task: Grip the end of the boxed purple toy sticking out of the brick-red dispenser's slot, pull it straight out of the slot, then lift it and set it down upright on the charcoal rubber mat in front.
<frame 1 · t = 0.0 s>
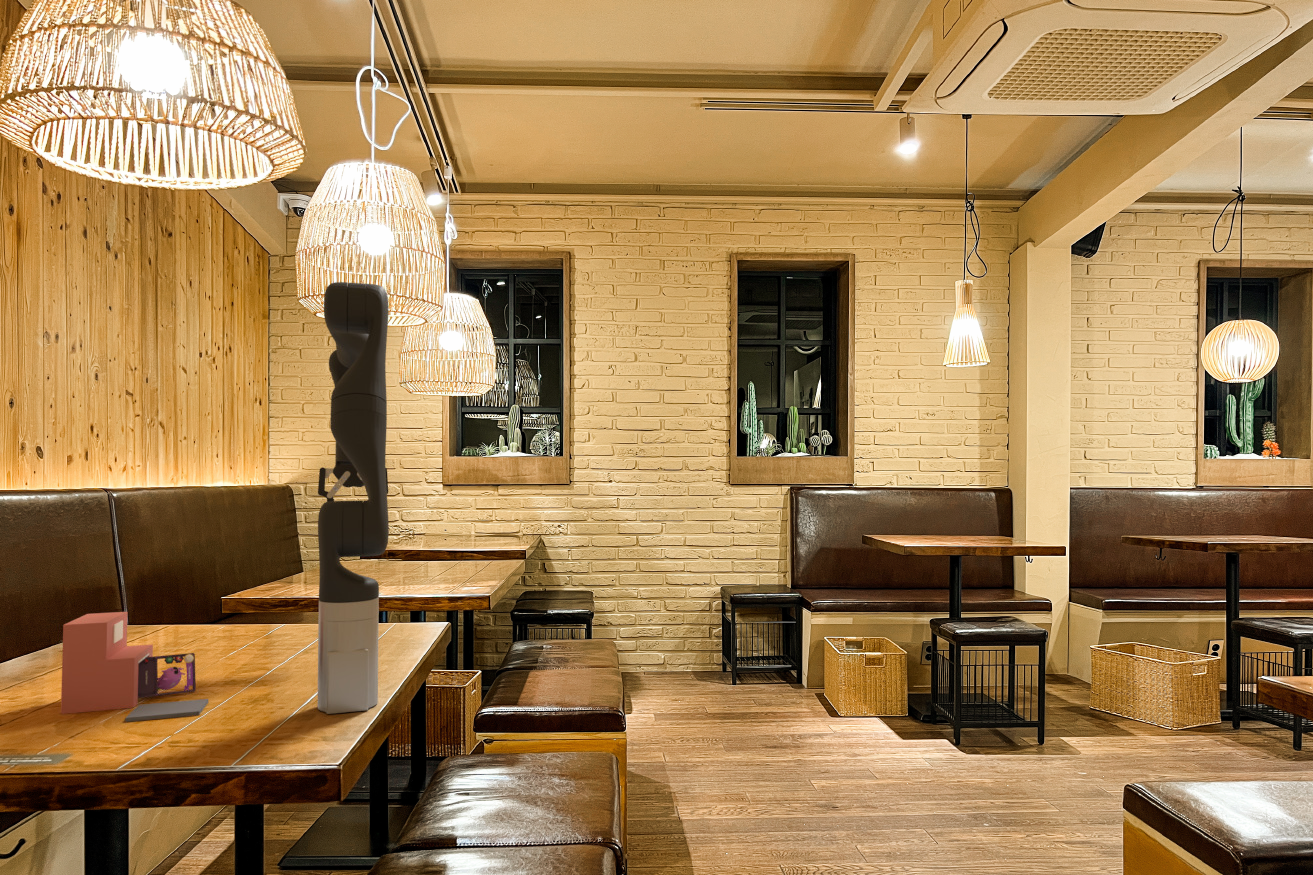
hand: (353, 515, 177), 29 cm above the table, tool pointing down, fingers open, 8 cm apart
dispenser: (108, 701, 137), on the table
mat: (168, 711, 131), on the table
boxed purple toy: (163, 694, 142), on the table, touching dispenser
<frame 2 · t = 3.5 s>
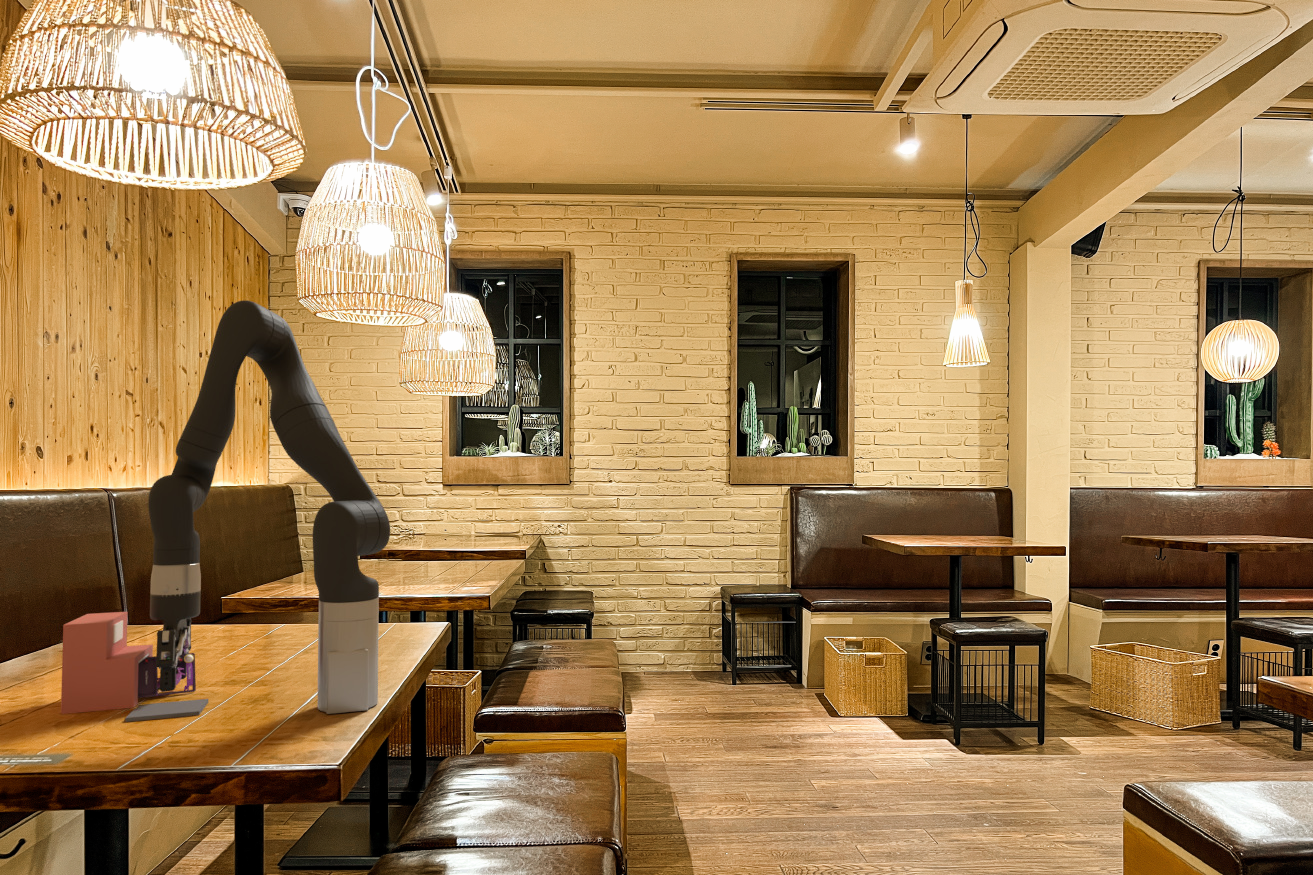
hand: (173, 684, 141), 2 cm above the table, tool pointing down, fingers open, 8 cm apart
boxed purple toy: (163, 694, 142), on the table, touching dispenser, gripper
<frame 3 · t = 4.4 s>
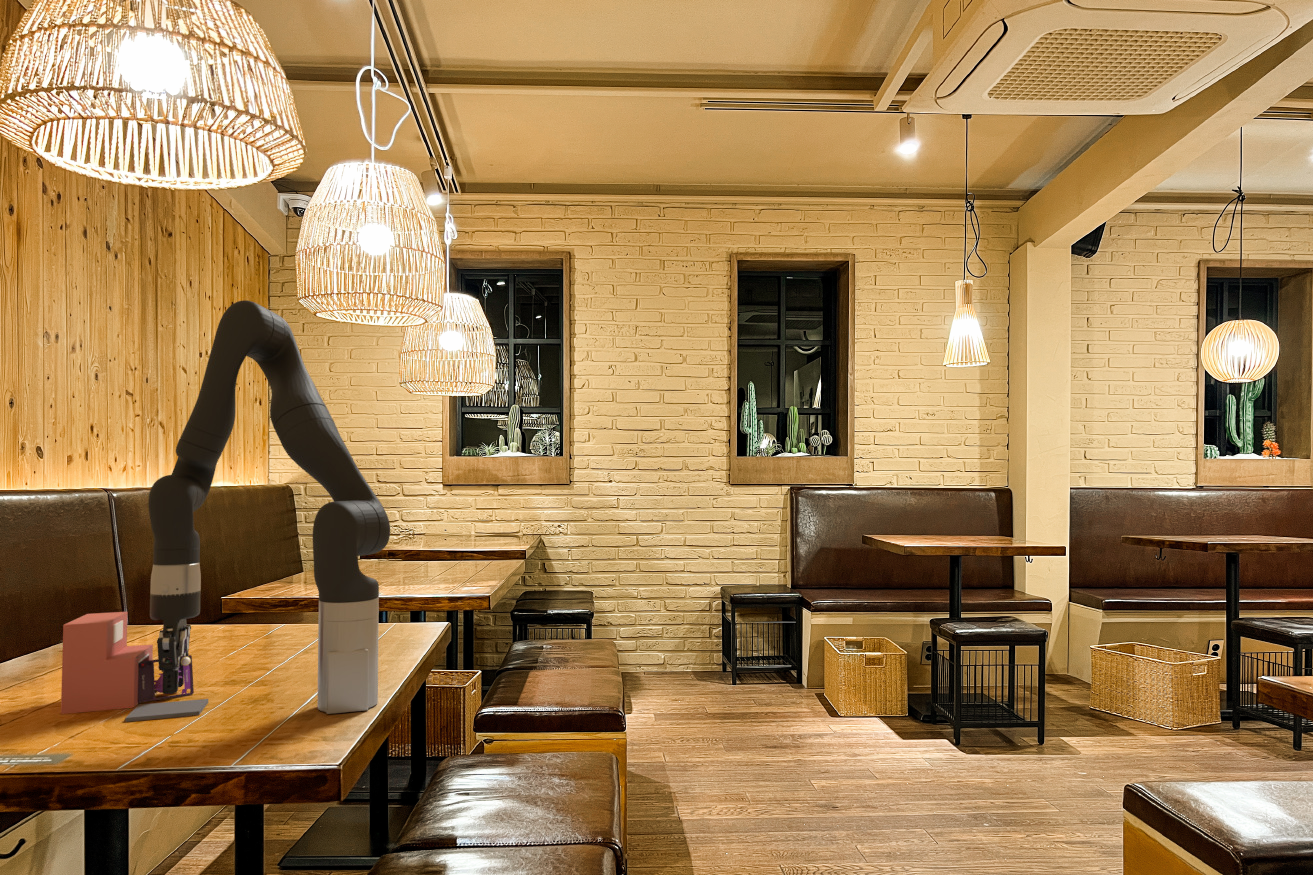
hand: (173, 689, 141), 1 cm above the table, tool pointing down, fingers closed on boxed purple toy, 3 cm apart
boxed purple toy: (161, 697, 140), on the table, touching dispenser, gripper
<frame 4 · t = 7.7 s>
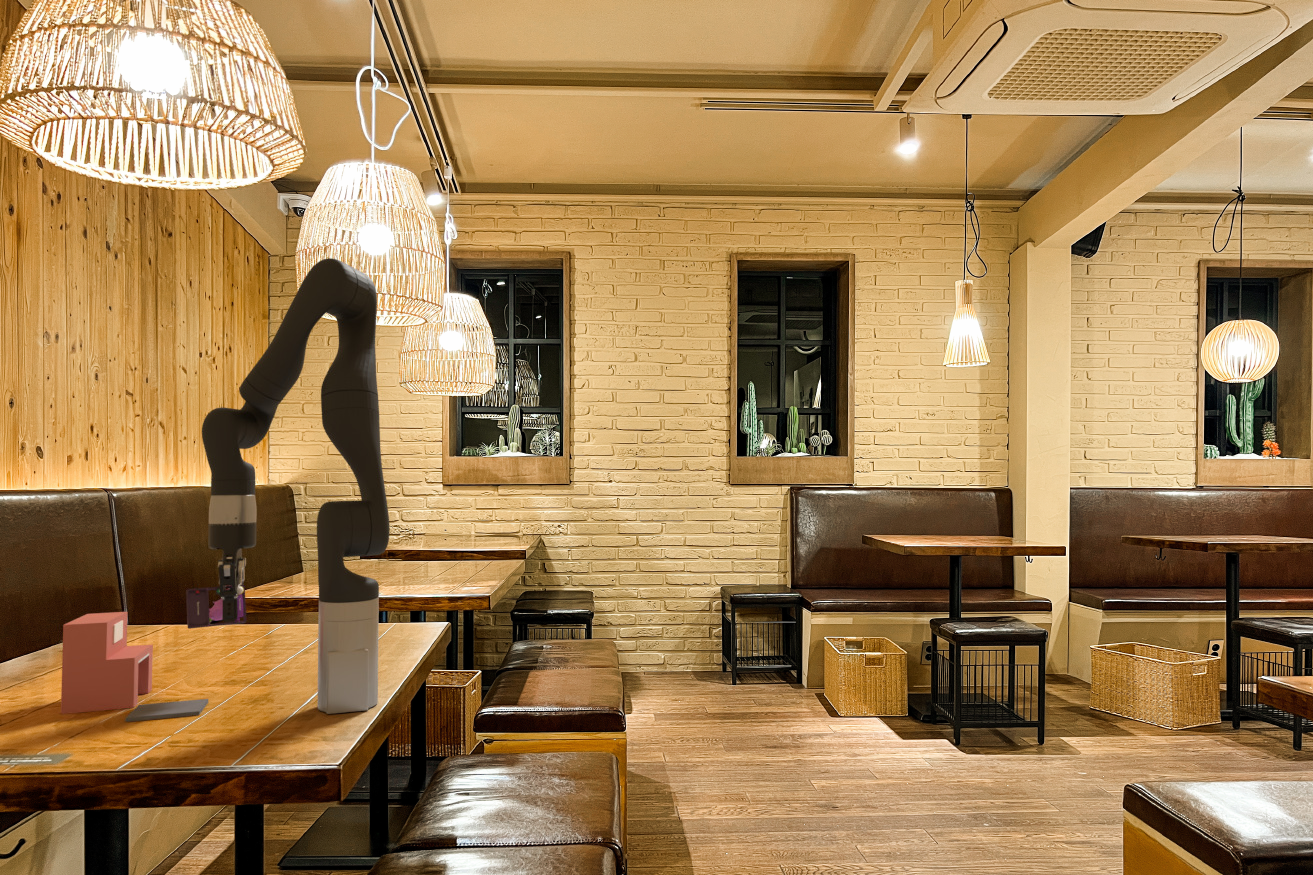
hand: (231, 618, 144), 13 cm above the table, tool pointing down, fingers closed on boxed purple toy, 3 cm apart
boxed purple toy: (215, 625, 142), point 12 cm above the table, touching gripper
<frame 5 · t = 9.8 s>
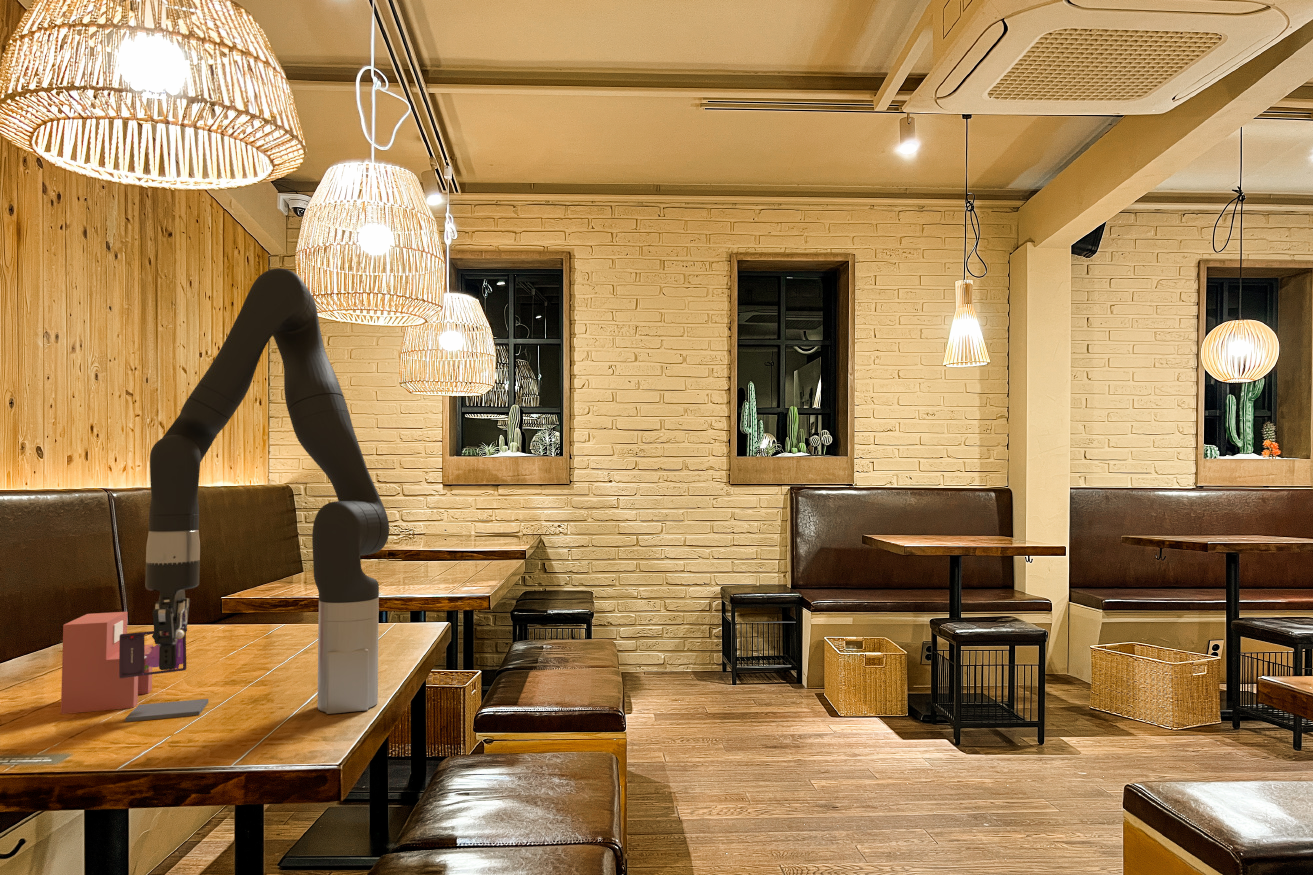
hand: (170, 665, 132), 7 cm above the table, tool pointing down, fingers closed on boxed purple toy, 3 cm apart
boxed purple toy: (152, 673, 130), point 6 cm above the table, touching gripper
when the fingers open (3 cm above the table, at t = 11.3 s): boxed purple toy drops 1 cm, resting on mat.
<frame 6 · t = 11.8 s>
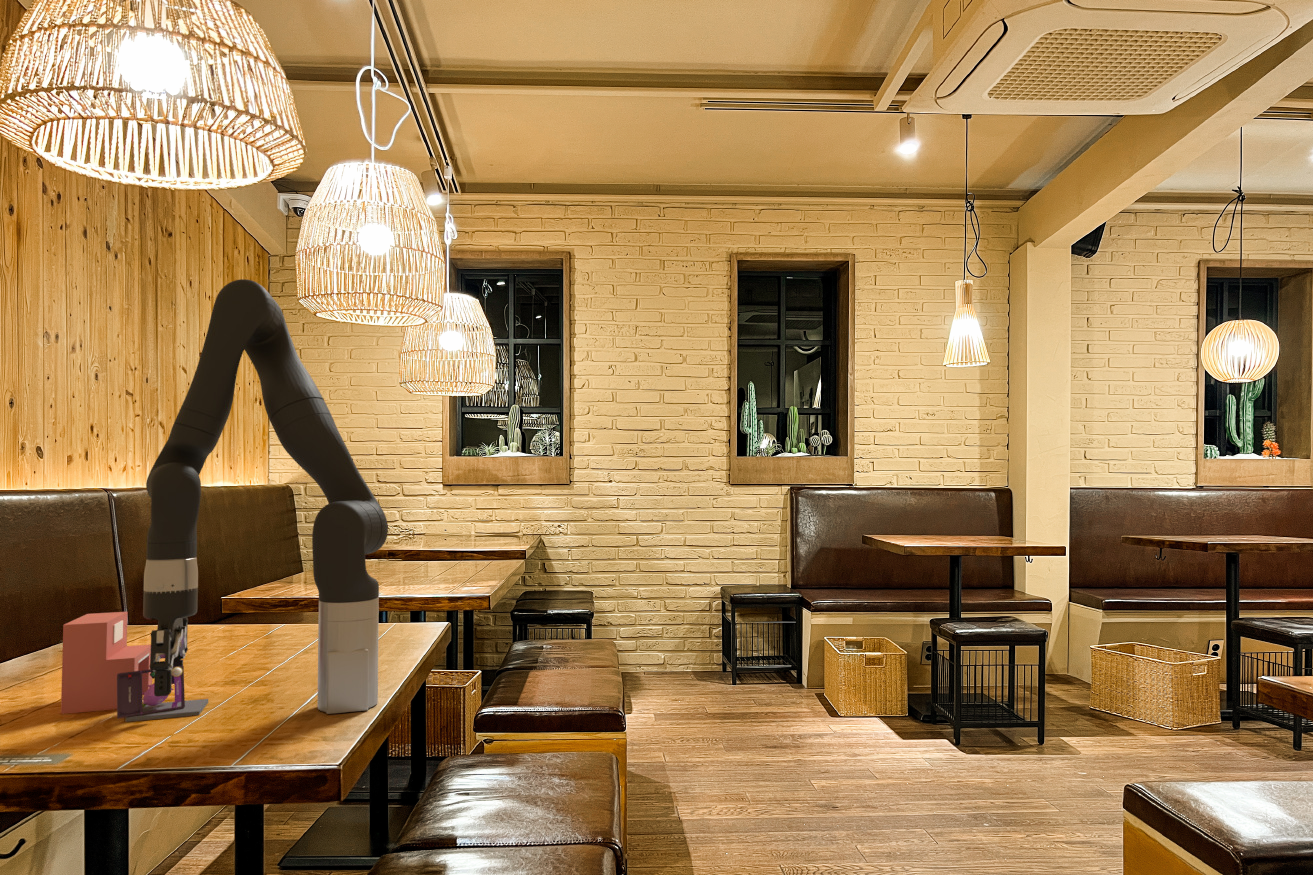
hand: (168, 689, 131), 4 cm above the table, tool pointing down, fingers open, 8 cm apart
boxed purple toy: (149, 711, 129), resting on mat
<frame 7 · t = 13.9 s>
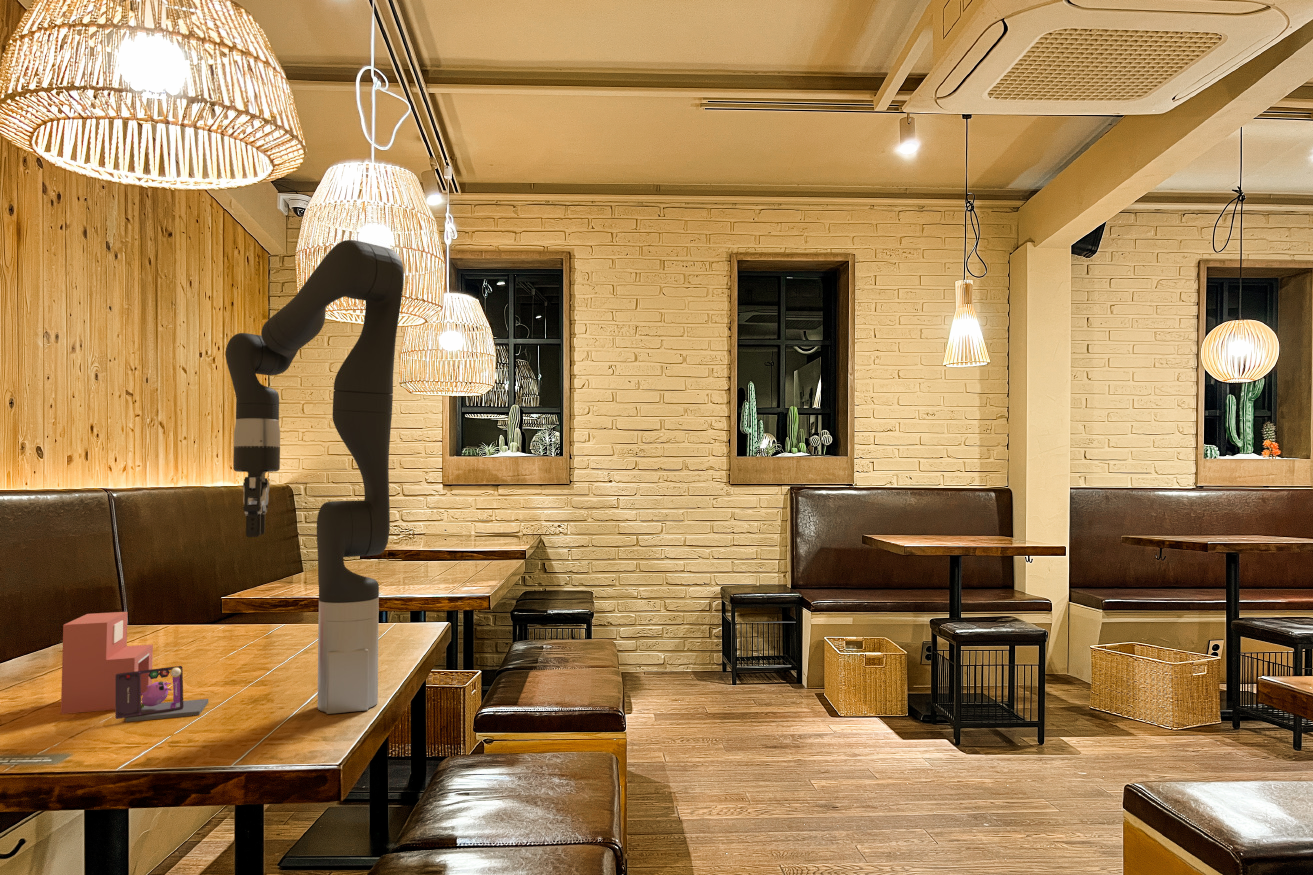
hand: (255, 535, 146), 27 cm above the table, tool pointing down, fingers open, 8 cm apart
nothing on the table moved.
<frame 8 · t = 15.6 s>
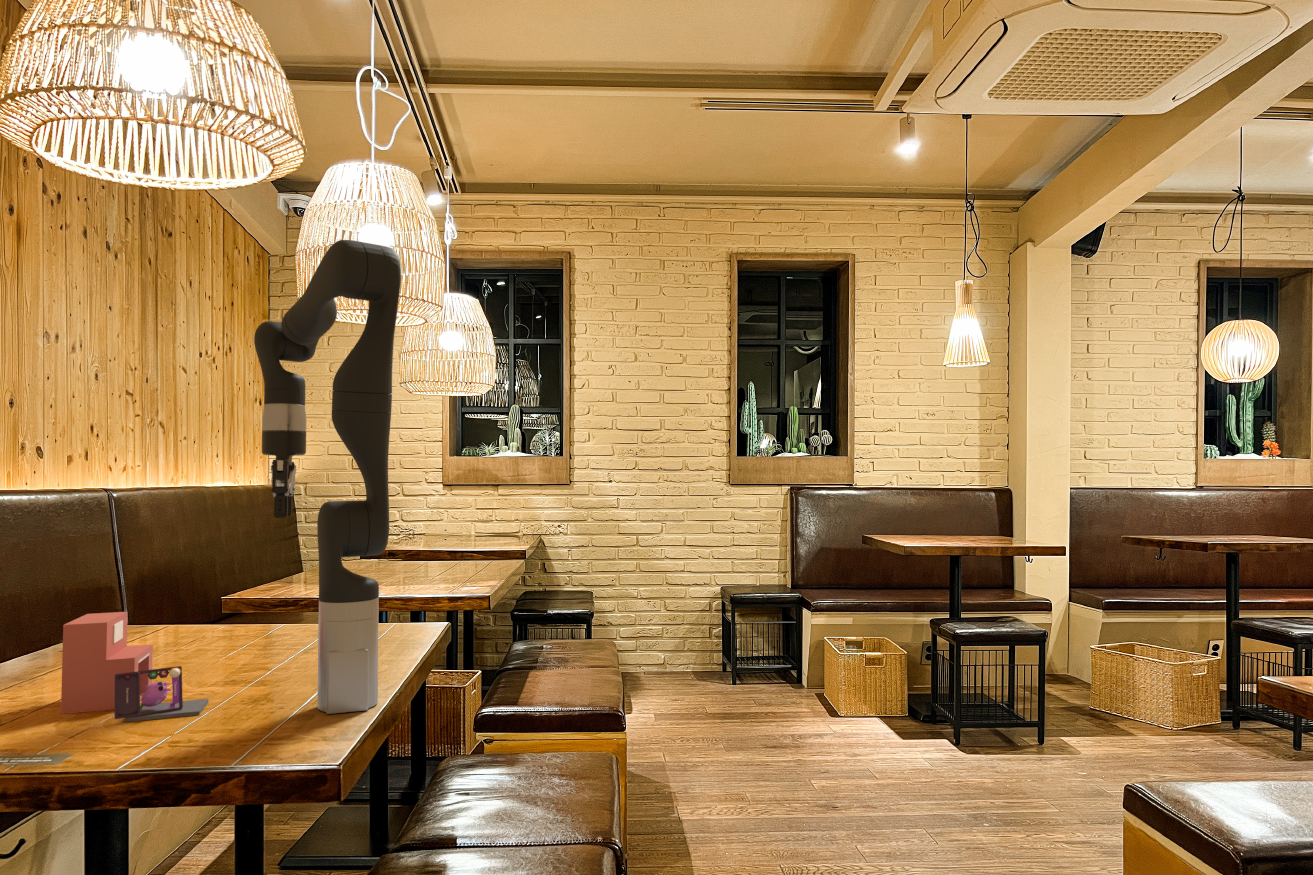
hand: (283, 516, 151), 30 cm above the table, tool pointing down, fingers open, 8 cm apart
nothing on the table moved.
at the end: boxed purple toy inside the target area on the mat (2.8 cm from its centre), point 0.4 cm above the mat's base; boxed purple toy tilted 0°; the gripper is holding nothing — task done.
